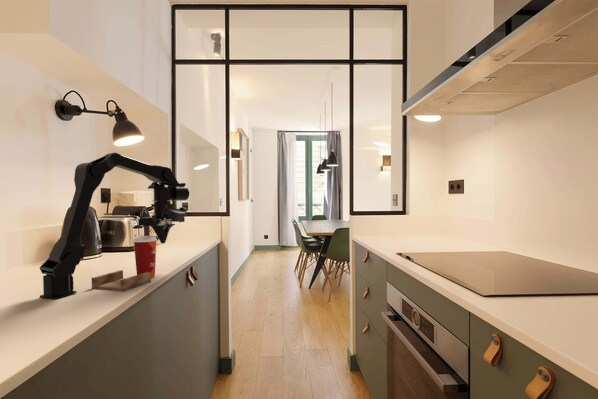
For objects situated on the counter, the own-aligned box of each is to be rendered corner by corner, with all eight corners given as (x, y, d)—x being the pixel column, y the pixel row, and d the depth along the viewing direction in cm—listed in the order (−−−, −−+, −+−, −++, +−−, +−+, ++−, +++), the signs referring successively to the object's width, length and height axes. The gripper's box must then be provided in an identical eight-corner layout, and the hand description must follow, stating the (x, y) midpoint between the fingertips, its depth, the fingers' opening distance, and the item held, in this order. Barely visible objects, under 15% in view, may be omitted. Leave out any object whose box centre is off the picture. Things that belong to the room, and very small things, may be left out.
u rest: (124, 291, 103) (123, 280, 103) (91, 288, 107) (91, 277, 107) (150, 281, 114) (150, 272, 114) (120, 279, 118) (120, 270, 118)
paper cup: (160, 277, 119) (159, 236, 119) (136, 281, 115) (134, 238, 115) (155, 273, 126) (154, 234, 126) (132, 276, 122) (130, 236, 121)
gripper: (163, 201, 117) (164, 247, 118) (195, 200, 135) (196, 240, 135) (136, 201, 121) (137, 246, 121) (171, 200, 139) (172, 239, 139)
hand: (163, 243), depth 129 cm, fingers closed
